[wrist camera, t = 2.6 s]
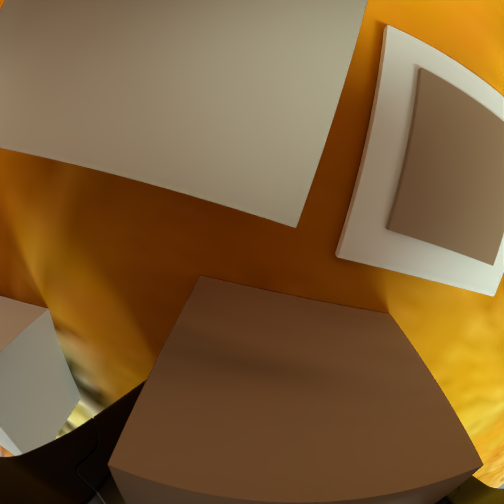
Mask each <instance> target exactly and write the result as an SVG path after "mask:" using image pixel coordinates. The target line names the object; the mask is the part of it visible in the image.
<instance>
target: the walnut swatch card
mask: <svg viewBox="0 0 504 504" xmlns="http://www.w3.org/2000/svg"><path fill="white" fill-rule="evenodd" d="M335 255H336V256H337V257H338V258H342V259H346V260H350V261H354V262H359V263H363V264H367V265H371V266H375V267H379V268H383V269H387V270H391V271H395V272H400V273H404V274H408V275H412V276H416V277H420V278H424V279H428V280H431V281H435V282H439V283H443V284H447V285H451V286H455V287H459V288H463V289H467V290H470V291H474V292H478V293H482V294H486V295H489V296H493V297H494V295H495V293H496V290H497V288H498V285H499V283H500V280H501V278H502V275H503V273H504V97H503V96H502V95H501V94H500V93H498V92H497V91H496V90H495V89H493V88H492V87H491V86H490V85H488V84H487V83H486V82H485V81H483V80H482V79H481V78H479V77H478V76H477V75H475V74H474V73H472V72H471V71H470V70H468V69H467V68H465V67H464V66H462V65H461V64H459V63H458V62H456V61H455V60H453V59H452V58H450V57H448V56H447V55H445V54H443V53H442V52H440V51H438V50H437V49H435V48H433V47H431V46H430V45H428V44H426V43H424V42H422V41H421V40H419V39H417V38H415V37H413V36H411V35H409V34H407V33H405V32H403V31H401V30H398V29H396V28H394V27H392V26H390V25H387V26H386V27H385V28H384V33H383V42H382V50H381V57H380V64H379V71H378V77H377V84H376V89H375V95H374V101H373V106H372V111H371V117H370V122H369V126H368V131H367V136H366V140H365V145H364V149H363V154H362V158H361V162H360V166H359V171H358V175H357V179H356V182H355V186H354V190H353V194H352V198H351V201H350V205H349V209H348V212H347V216H346V219H345V223H344V226H343V230H342V233H341V236H340V240H339V243H338V246H337V249H336V253H335Z"/></svg>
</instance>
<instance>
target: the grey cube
mask: <svg viewBox="0 0 504 504" xmlns="http://www.w3.org/2000/svg"><path fill="white" fill-rule="evenodd" d="M80 399H81V395H80V393H79V391H78V389H77V386H76V384H75V382H74V379H73V377H72V375H71V372H70V370H69V367H68V365H67V362H66V360H65V357H64V354H63V351H62V349H61V346H60V343H59V340H58V337H57V334H56V331H55V328H54V324H53V321H52V318H51V314H50V311H49V309H48V308H44V307H40V306H36V305H32V304H28V303H24V302H21V301H17V300H13V299H10V298H6V297H3V296H0V445H1V446H2V447H4V448H5V449H7V450H8V451H9V452H11V453H12V454H14V455H15V456H17V455H21V454H24V453H26V452H29V451H31V450H33V449H36V448H38V447H40V446H42V445H45V444H47V443H49V442H51V441H53V440H55V438H56V436H57V435H58V433H59V431H60V430H61V428H62V427H63V425H64V423H65V422H66V420H67V419H68V417H69V416H70V414H71V412H72V411H73V409H74V408H75V406H76V405H77V403H78V402H79V400H80Z"/></svg>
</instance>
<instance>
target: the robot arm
mask: <svg viewBox="0 0 504 504" xmlns="http://www.w3.org/2000/svg"><path fill="white" fill-rule="evenodd" d="M146 381H147V380H145V381H144V382H142V383H141V384H140V385H138V386H137V387H136V388H134V389H133V390H131V391H130V392H129V393H127V394H126V395H124V396H123V397H122V398H120V399H119V400H117V401H116V402H115V403H113V404H112V405H110V406H109V407H107V408H106V409H105V410H103V411H102V412H100V413H99V414H97V415H96V416H94V419H93V418H91V419H90V420H88V421H87V422H85V423H84V424H82V425H81V426H79V427H78V428H76V429H74V430H73V431H71V432H69V433H67V434H65V435H64V436H62V437H60V438H58V439H56V440H53V441H51V442H49V443H47V444H45V445H42V446H40V447H38V448H36V449H33V450H31V451H29V452H26V453H24V454H21V455H17V456H12V457H0V504H126V503H125V501H124V499H123V497H122V495H121V493H120V491H119V489H118V487H117V485H116V482H115V480H114V478H113V476H112V473H111V471H110V469H109V466H108V462H109V460H110V458H111V456H112V453H113V451H114V449H115V447H116V444H117V442H118V440H119V438H120V436H121V433H122V431H123V429H124V427H125V425H126V423H127V420H128V418H129V416H130V414H131V412H132V410H133V408H134V405H135V403H136V401H137V399H138V397H139V395H140V393H141V391H142V389H143V387H144V385H145V383H146ZM435 504H504V489H497V488H492V487H489V486H487V485H486V484H484V483H483V482H481V481H480V480H478V479H477V478H475V477H474V476H472V475H471V476H470V477H469V478H468V479H467V480H465V481H464V482H463V483H462V484H461V485H459V486H458V487H457V488H455V489H454V490H453V491H452V492H450V493H449V494H447V495H446V496H445V497H443V498H442V499H441V500H439V501H438V502H436V503H435Z"/></svg>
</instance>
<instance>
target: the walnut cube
mask: <svg viewBox="0 0 504 504" xmlns="http://www.w3.org/2000/svg"><path fill="white" fill-rule="evenodd" d="M108 466H109V469H110V471H111V473H112V476H113V478H114V480H115V482H116V485H117V487H118V489H119V491H120V493H121V495H122V497H123V499H124V501H125V503H126V504H435V503H436V502H438V501H439V500H441V499H442V498H443V497H445V496H446V495H447V494H449V493H450V492H452V491H453V490H454V489H455V488H457V487H458V486H459V485H461V484H462V483H463V482H464V481H465V480H467V479H468V478H469V477H470V476H471V475H473V474H474V473H475V472H476V471H477V470H478V469H479V468H481V467H482V466H483V463H482V461H481V459H480V457H479V455H478V453H477V451H476V449H475V447H474V445H473V443H472V441H471V440H470V438H469V436H468V434H467V432H466V430H465V429H464V427H463V425H462V423H461V422H460V420H459V418H458V416H457V415H456V413H455V411H454V410H453V408H452V406H451V404H450V403H449V401H448V400H447V398H446V396H445V395H444V393H443V391H442V390H441V388H440V387H439V385H438V383H437V382H436V380H435V379H434V377H433V376H432V374H431V372H430V371H429V369H428V368H427V366H426V365H425V363H424V362H423V360H422V359H421V357H420V356H419V354H418V353H417V351H416V350H415V348H414V347H413V346H412V344H411V343H410V341H409V340H408V338H407V337H406V335H405V334H404V333H403V331H402V330H401V328H400V327H399V326H398V324H397V323H396V321H395V320H394V319H393V317H392V316H391V315H390V314H388V313H383V312H377V311H371V310H365V309H360V308H354V307H349V306H344V305H338V304H333V303H328V302H323V301H317V300H312V299H307V298H302V297H297V296H293V295H288V294H283V293H278V292H273V291H269V290H264V289H259V288H255V287H250V286H245V285H241V284H236V283H232V282H228V281H223V280H219V279H214V278H210V277H206V276H202V275H200V277H199V279H198V281H197V283H196V285H195V287H194V288H193V290H192V292H191V294H190V296H189V298H188V300H187V302H186V304H185V305H184V307H183V309H182V311H181V313H180V315H179V317H178V319H177V321H176V323H175V325H174V327H173V329H172V330H171V332H170V334H169V336H168V338H167V340H166V342H165V344H164V346H163V348H162V350H161V352H160V354H159V356H158V358H157V360H156V362H155V364H154V366H153V368H152V370H151V372H150V374H149V376H148V378H147V381H146V383H145V385H144V387H143V389H142V391H141V393H140V395H139V397H138V399H137V401H136V403H135V405H134V408H133V410H132V412H131V414H130V416H129V418H128V420H127V423H126V425H125V427H124V429H123V431H122V433H121V436H120V438H119V440H118V442H117V444H116V447H115V449H114V451H113V453H112V456H111V458H110V460H109V462H108Z"/></svg>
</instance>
